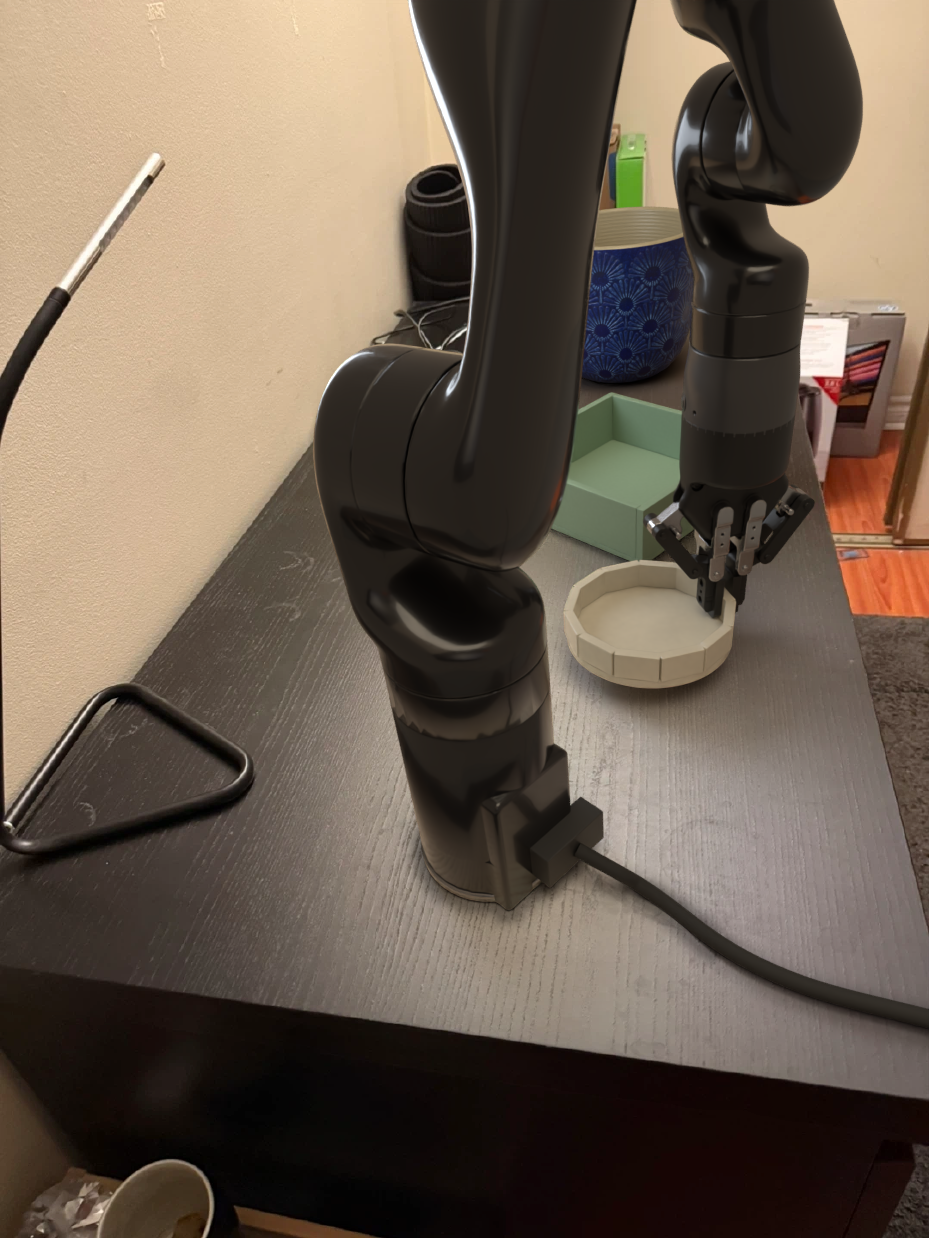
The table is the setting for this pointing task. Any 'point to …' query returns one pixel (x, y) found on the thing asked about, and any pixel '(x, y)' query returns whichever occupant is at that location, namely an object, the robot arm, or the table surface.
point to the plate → (646, 625)
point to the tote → (621, 475)
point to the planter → (637, 295)
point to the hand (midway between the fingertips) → (719, 609)
